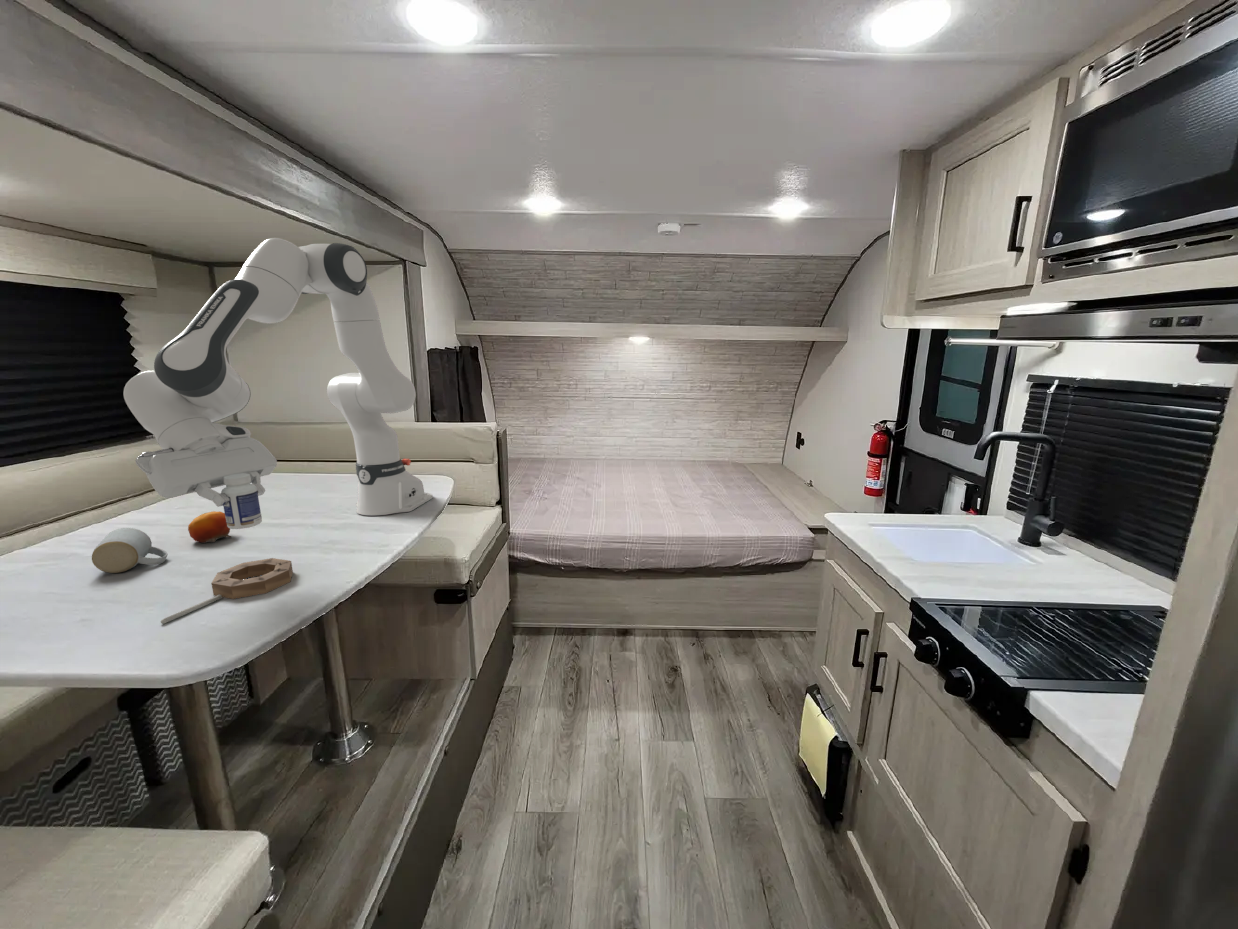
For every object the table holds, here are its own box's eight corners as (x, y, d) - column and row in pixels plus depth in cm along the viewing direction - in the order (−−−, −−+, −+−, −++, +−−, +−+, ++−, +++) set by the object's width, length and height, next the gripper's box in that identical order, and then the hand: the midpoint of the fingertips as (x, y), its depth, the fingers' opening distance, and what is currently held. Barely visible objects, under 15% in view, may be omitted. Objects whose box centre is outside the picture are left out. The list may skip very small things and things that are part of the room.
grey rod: (219, 598, 90) (218, 594, 90) (222, 598, 90) (221, 594, 90) (159, 624, 82) (159, 620, 81) (163, 625, 81) (162, 620, 81)
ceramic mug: (92, 578, 98) (84, 542, 97) (107, 564, 105) (100, 530, 104) (162, 568, 104) (156, 533, 102) (172, 555, 110) (166, 522, 109)
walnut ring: (261, 567, 104) (259, 556, 103) (306, 574, 100) (304, 562, 100) (199, 593, 92) (197, 580, 92) (247, 601, 89) (245, 589, 88)
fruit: (215, 541, 114) (195, 512, 113) (195, 555, 116) (175, 527, 116) (247, 529, 122) (229, 502, 121) (228, 543, 124) (209, 516, 123)
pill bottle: (266, 519, 97) (259, 471, 95) (256, 528, 92) (247, 477, 90) (234, 522, 95) (225, 473, 93) (221, 531, 90) (212, 479, 88)
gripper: (135, 442, 82) (188, 503, 82) (254, 426, 101) (298, 475, 101) (123, 467, 84) (174, 526, 84) (242, 446, 104) (284, 495, 103)
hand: (243, 498), depth 92 cm, fingers closed on pill bottle, 5 cm apart
